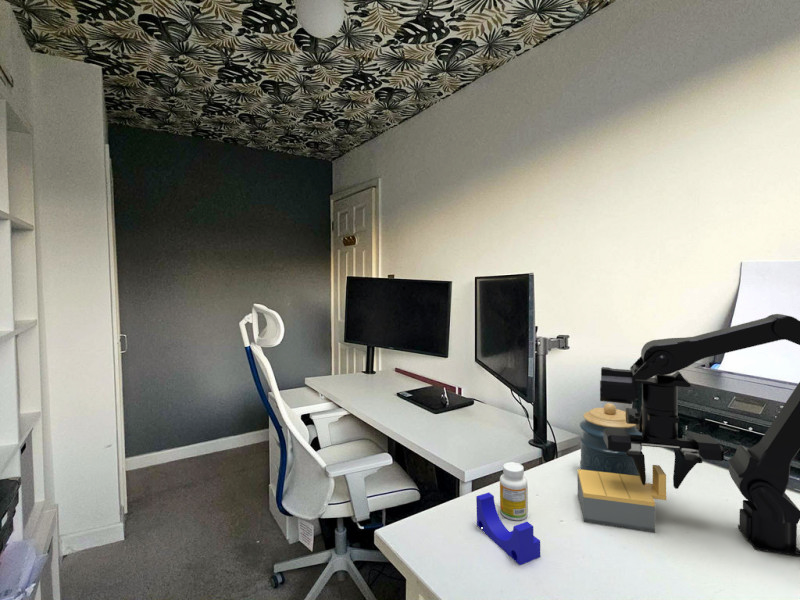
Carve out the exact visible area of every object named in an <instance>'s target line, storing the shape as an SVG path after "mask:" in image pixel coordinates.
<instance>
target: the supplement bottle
mask: <svg viewBox="0 0 800 600" xmlns="http://www.w3.org/2000/svg"><path fill="white" fill-rule="evenodd" d="M502 468H503V469H502V471H503V472H502V474H501V475H500V477H499V506H500V507H499V509H500V513H501V515H502V516H503V517H505V518H506V519H508V520H511V521H523V520H525V519H527V517H528V515H529V506H528V504H529V501H528V500H529V499H528V494H529V493H528V492H529V491H528V480H527V477H526V476H524V474H525V472H524V469H525V468H524V466H523V465H522V464H521V463H518V462H513V461H511V462H509V461H508V462H506V463H504V464H503V465H502Z"/></svg>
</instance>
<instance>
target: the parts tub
mask: <svg viewBox="0 0 800 600" xmlns="http://www.w3.org/2000/svg"><path fill="white" fill-rule="evenodd" d="M577 498H578V503H579V507H580V511H581V516H582V519H583V523H587V524H594V525H598V526H599V525H600V526H606V527H611V528H612V527H614V528H620V529H625V530H626V529H628V530H632V531H633V530H634V531H641V532H646V533H647V532H648V533H652V534H655V533H656V506H655V507H654V506H647V505H639V504H632V503H624V502H617V501H609V500H602V499H594V498H586V497H583V493H582V489H581V485H580V481H579V477H578V476H577Z"/></svg>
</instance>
